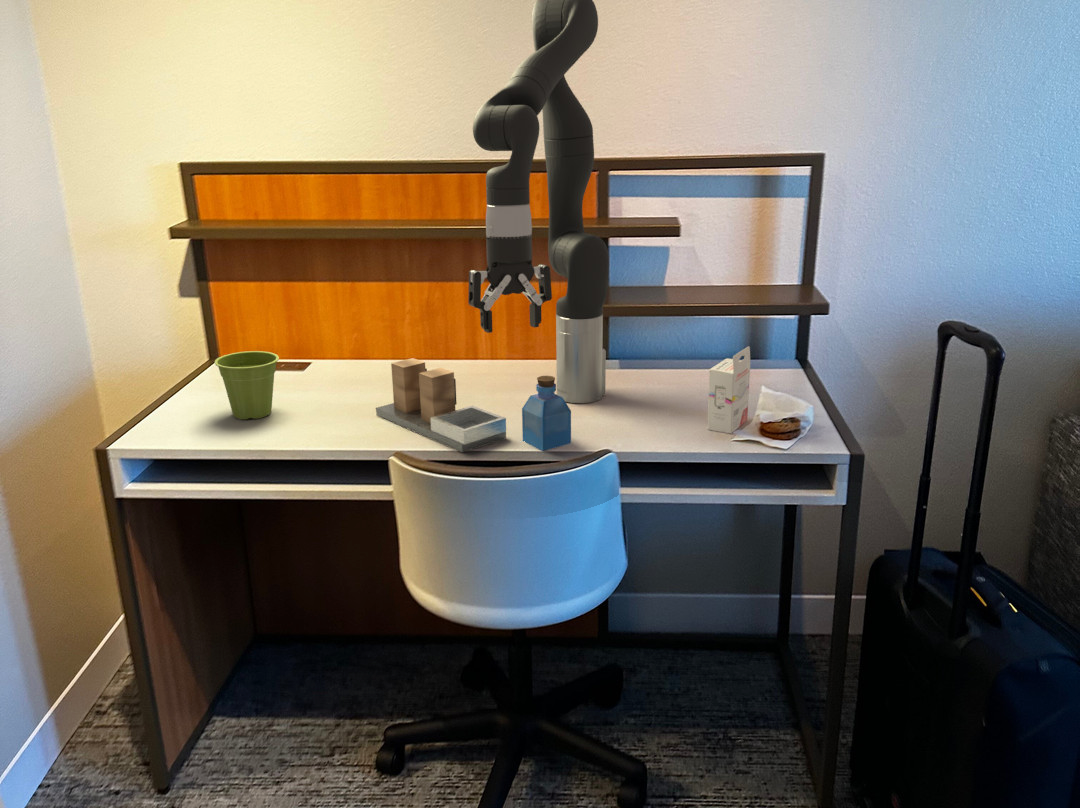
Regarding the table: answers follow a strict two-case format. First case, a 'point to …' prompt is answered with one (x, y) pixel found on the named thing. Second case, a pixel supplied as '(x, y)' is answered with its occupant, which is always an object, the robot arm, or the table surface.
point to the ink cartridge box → (729, 393)
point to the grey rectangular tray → (452, 426)
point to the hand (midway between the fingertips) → (511, 329)
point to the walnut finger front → (437, 393)
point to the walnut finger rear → (407, 384)
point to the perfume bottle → (546, 417)
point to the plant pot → (249, 382)
